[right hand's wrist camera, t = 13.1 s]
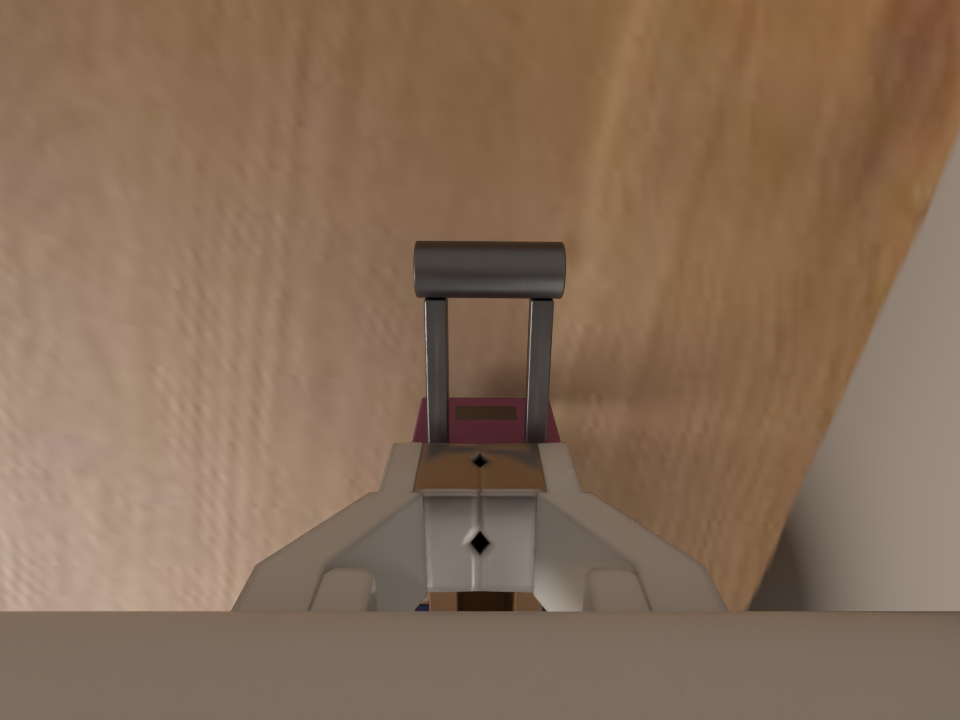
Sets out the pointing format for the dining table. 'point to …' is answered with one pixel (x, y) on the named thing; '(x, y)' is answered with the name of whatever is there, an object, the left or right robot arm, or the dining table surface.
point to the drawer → (487, 419)
